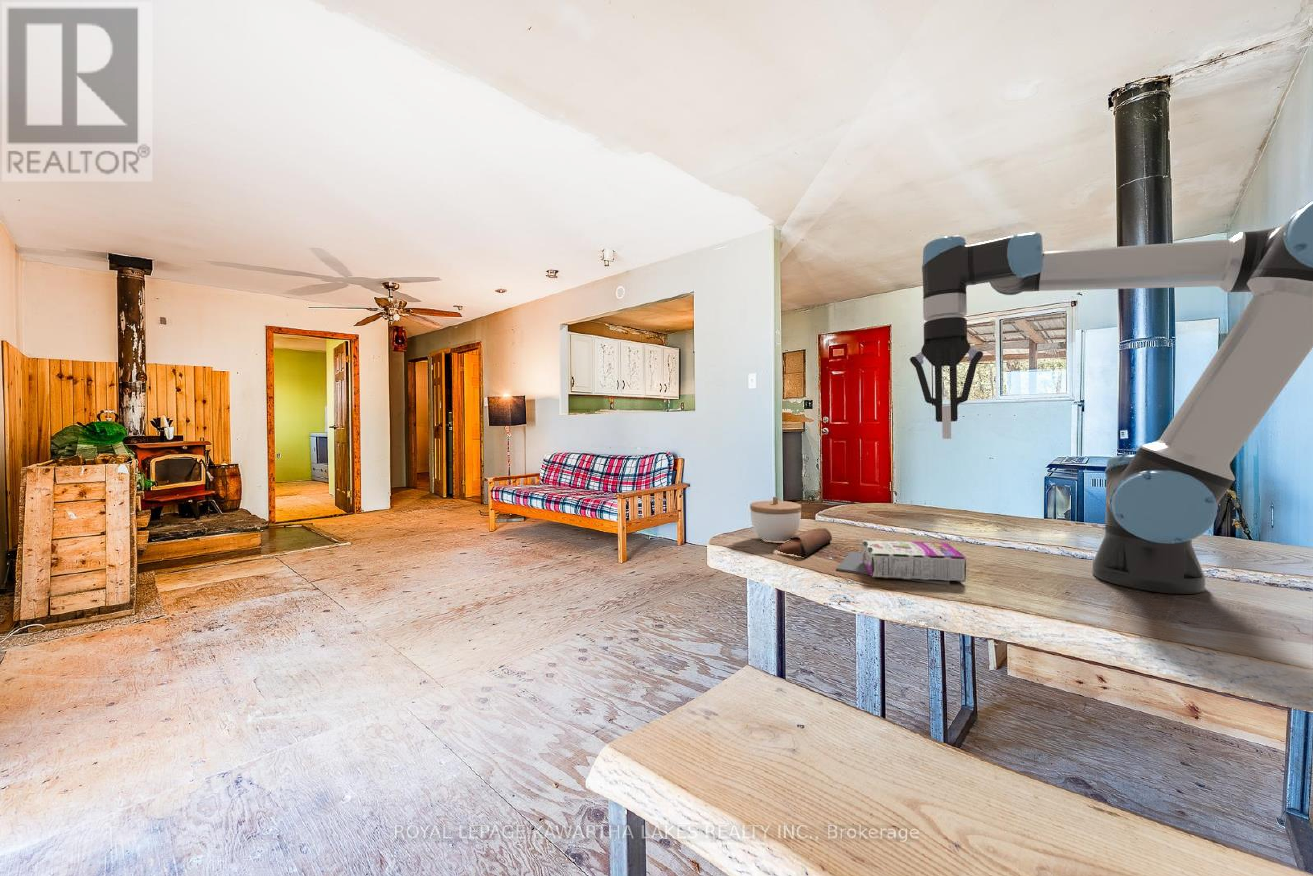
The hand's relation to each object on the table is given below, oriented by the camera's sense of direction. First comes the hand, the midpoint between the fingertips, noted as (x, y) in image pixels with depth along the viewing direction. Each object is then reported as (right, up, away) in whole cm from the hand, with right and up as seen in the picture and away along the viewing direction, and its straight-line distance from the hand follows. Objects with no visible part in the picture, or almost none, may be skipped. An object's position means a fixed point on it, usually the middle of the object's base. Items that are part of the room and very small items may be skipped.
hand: (946, 438), depth 104 cm
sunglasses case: (-23, -27, +20) cm, 41 cm away
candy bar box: (0, -24, -3) cm, 24 cm away
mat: (-9, -27, +3) cm, 28 cm away
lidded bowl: (-28, -26, +28) cm, 47 cm away
